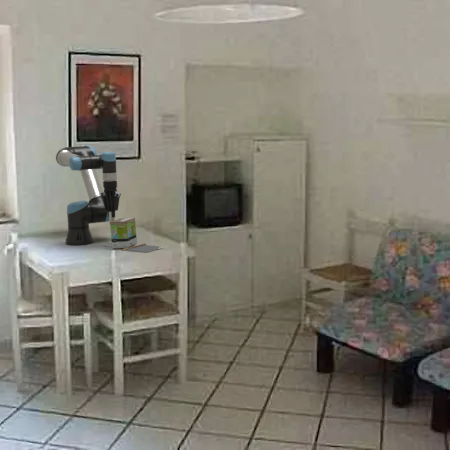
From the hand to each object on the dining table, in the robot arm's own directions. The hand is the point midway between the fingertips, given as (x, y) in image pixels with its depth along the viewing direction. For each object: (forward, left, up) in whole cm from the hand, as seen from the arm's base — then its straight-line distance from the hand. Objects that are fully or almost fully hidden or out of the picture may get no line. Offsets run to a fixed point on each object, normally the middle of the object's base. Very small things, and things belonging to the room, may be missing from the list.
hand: (112, 223), depth 419 cm
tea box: (+8, 0, -12) cm, 15 cm away
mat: (+23, 0, -13) cm, 26 cm away
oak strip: (+15, 0, -13) cm, 19 cm away
